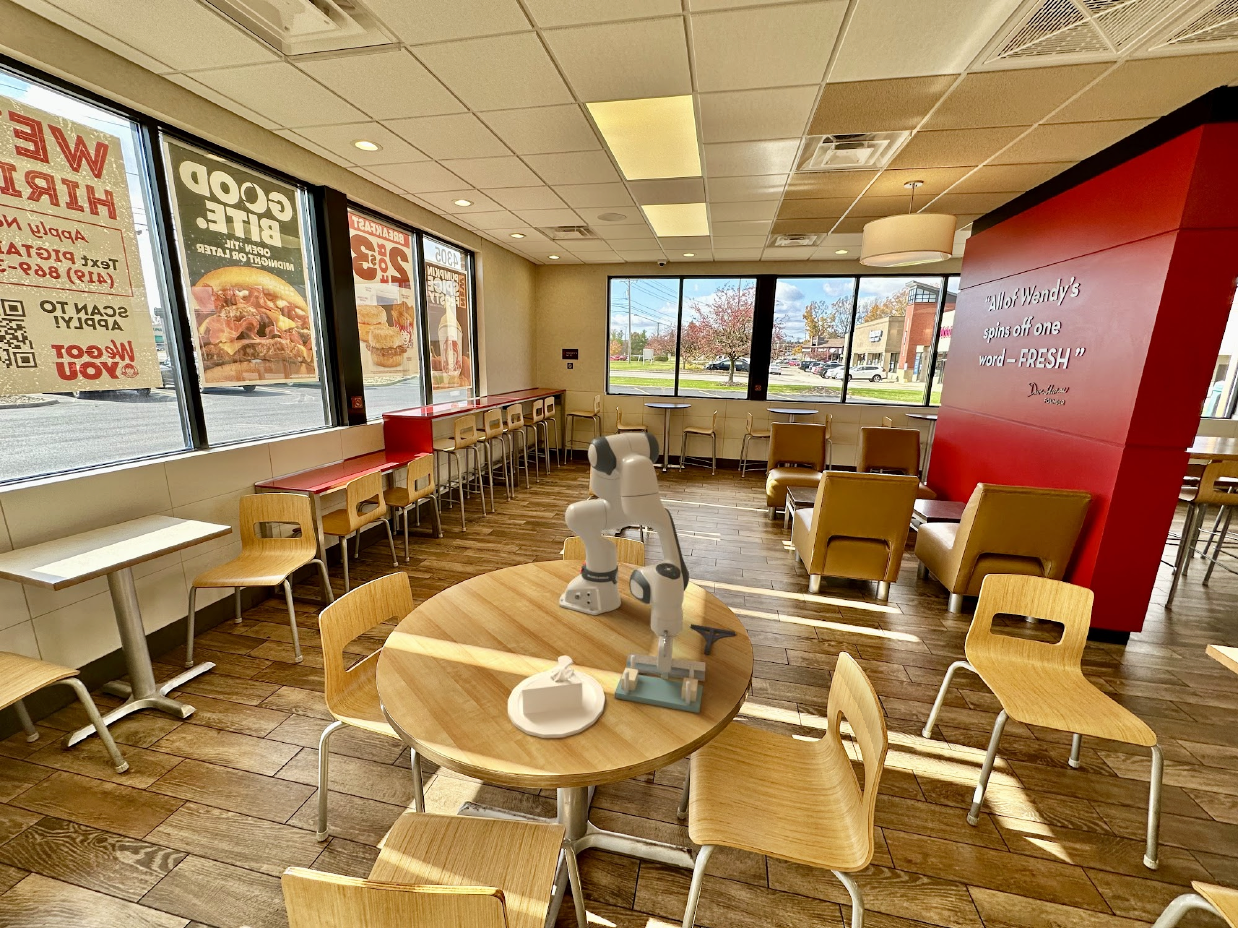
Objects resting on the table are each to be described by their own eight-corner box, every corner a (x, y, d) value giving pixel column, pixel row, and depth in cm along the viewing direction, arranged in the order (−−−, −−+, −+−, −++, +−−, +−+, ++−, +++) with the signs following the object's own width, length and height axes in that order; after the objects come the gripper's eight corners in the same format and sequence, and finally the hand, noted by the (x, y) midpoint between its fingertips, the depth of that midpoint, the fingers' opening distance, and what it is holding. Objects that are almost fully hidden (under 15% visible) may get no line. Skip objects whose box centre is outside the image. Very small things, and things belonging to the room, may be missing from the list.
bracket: (682, 651, 151) (682, 643, 151) (691, 627, 165) (691, 619, 164) (730, 661, 147) (731, 653, 146) (735, 635, 161) (735, 627, 160)
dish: (576, 663, 145) (576, 628, 142) (623, 714, 124) (623, 674, 122) (494, 692, 132) (492, 654, 129) (531, 755, 111) (529, 711, 109)
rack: (614, 697, 130) (614, 672, 128) (622, 676, 138) (623, 652, 136) (699, 712, 124) (700, 686, 123) (702, 690, 133) (703, 665, 131)
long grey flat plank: (626, 672, 141) (626, 661, 140) (628, 663, 145) (628, 653, 144) (704, 682, 137) (705, 671, 136) (704, 673, 140) (705, 662, 140)
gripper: (677, 643, 127) (675, 691, 130) (678, 605, 147) (677, 647, 150) (652, 641, 128) (651, 688, 131) (657, 603, 148) (656, 645, 150)
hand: (665, 666), depth 140 cm, fingers open, 8 cm apart
